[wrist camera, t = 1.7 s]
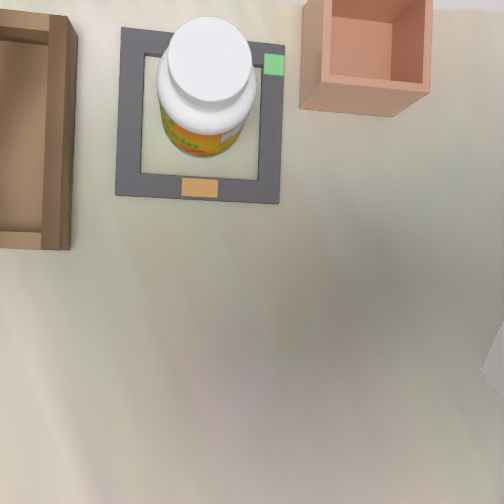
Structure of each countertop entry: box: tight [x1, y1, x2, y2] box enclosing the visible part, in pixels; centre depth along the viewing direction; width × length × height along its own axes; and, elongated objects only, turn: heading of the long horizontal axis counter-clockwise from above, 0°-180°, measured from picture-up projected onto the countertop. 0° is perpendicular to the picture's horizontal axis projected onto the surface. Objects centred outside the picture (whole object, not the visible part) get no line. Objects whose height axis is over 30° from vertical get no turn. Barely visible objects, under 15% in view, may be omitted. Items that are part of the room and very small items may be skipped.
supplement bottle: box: [156, 16, 257, 158], centre depth 25 cm, size 5×5×10 cm
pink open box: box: [299, 0, 433, 117], centre depth 29 cm, size 7×7×5 cm
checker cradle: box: [115, 27, 285, 204], centre depth 29 cm, size 11×11×1 cm
